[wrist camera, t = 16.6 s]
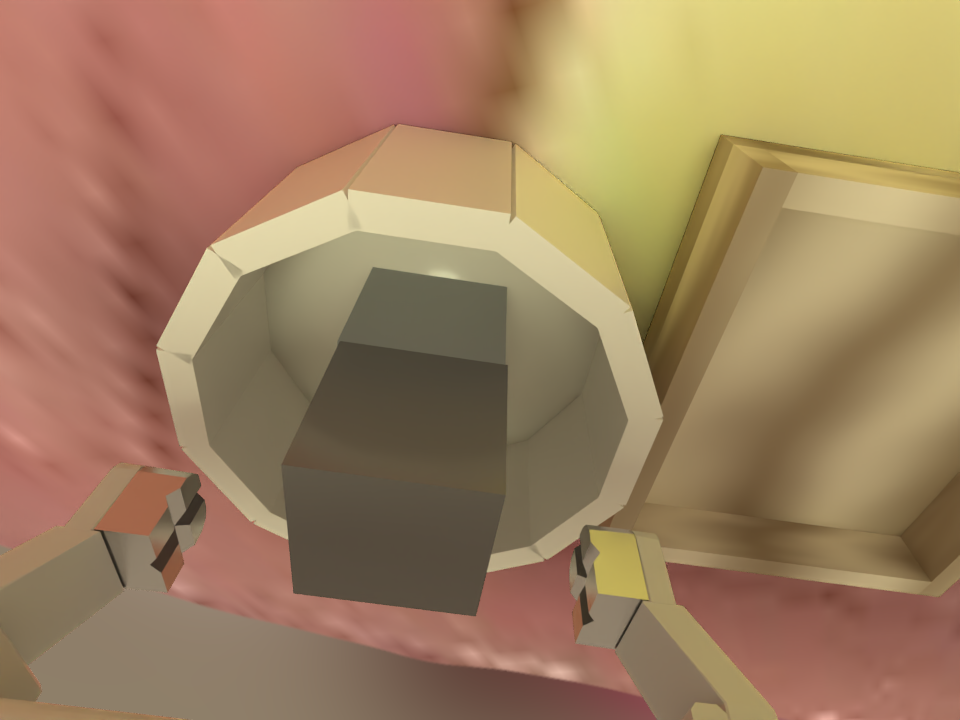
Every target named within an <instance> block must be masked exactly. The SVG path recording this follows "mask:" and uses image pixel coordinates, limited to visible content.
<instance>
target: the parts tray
mask: <svg viewBox="0 0 960 720" xmlns="http://www.w3.org/2000/svg"><path fill="white" fill-rule="evenodd" d="M643 347H644V351H645V354H646V358H647V361H648V365H649V368H650V372H651V375H652V379H653V382H654V386H655V389H656V393H657V396H658V400H659V403H660V407H661V410H662V413H663V417H662V418H663V422H662V424H661V426H660V429H659V431H658V433H657V435H656V438H655V440H654V442H653V445H652V447H651V449H650V451H649V454H648V456H647V458H646V461H645V463H644V465H643V467H642V470H641V472H640V474H639V477H638V479H637V481H636V483H635V486H634V488H633V490H632V493H631V495H630V497H629V499H628V502H627V504H626V505H623V507H624V508H623V509H621V510H620V511H618V512H617V513H615V514H614V515H612V516H611V517H610V518H608V519H607V520H605V521H604V522H602V523H601V524H599V525H598V526H602V527H611V528H619V529H628V530H631V531H639V532H647V533H654V534H656V535H657V537H658V538H659V541H660V545H661V549H662V552H663V556H664V560H665V562H672V563H679V564H687V565H695V566H702V567H710V568H718V569H726V570H733V571H741V572H749V573H756V574H764V575H772V576H780V577H787V578H795V579H803V580H810V581H818V582H826V583H834V584H841V585H849V586H857V587H864V588H872V589H880V590H888V591H895V592H903V593H911V594H918V595H926V596H934V597H940V596H941V595H942V594H943V593H944V592H945V591H946V590H947V589H949V588H950V587H951V586H952V585H953V584H954V583H955V582H956V581H957V580H958V579H959V578H960V173H958V172H952V171H945V170H939V169H933V168H927V167H920V166H914V165H908V164H902V163H895V162H889V161H883V160H877V159H870V158H864V157H858V156H851V155H845V154H839V153H833V152H826V151H820V150H814V149H808V148H801V147H795V146H789V145H783V144H776V143H770V142H764V141H758V140H751V139H745V138H739V137H733V136H726V135H721V137H720V139H719V142H718V145H717V148H716V150H715V153H714V156H713V158H712V161H711V164H710V166H709V169H708V172H707V174H706V177H705V180H704V183H703V185H702V188H701V191H700V193H699V196H698V199H697V201H696V204H695V207H694V209H693V212H692V215H691V218H690V220H689V223H688V226H687V228H686V231H685V234H684V236H683V239H682V242H681V244H680V247H679V250H678V253H677V255H676V258H675V261H674V263H673V266H672V269H671V271H670V274H669V277H668V280H667V282H666V285H665V288H664V290H663V293H662V296H661V298H660V301H659V304H658V306H657V309H656V312H655V315H654V317H653V320H652V323H651V325H650V328H649V331H648V333H647V336H646V339H645V341H644V344H643Z"/></svg>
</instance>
